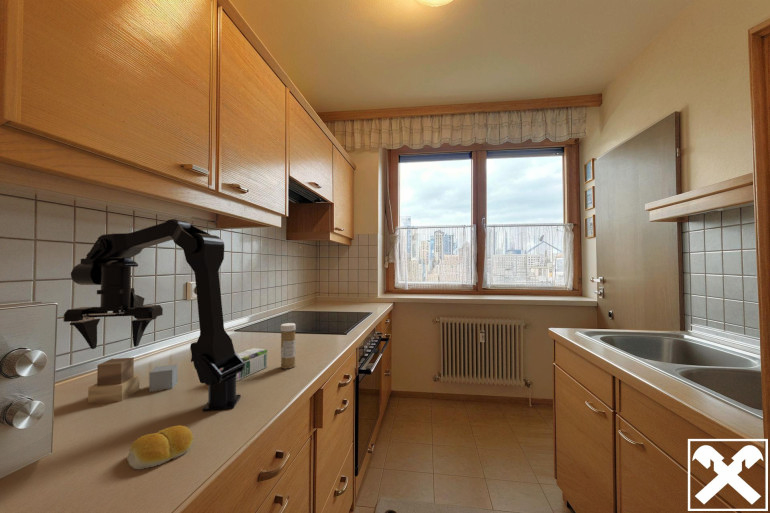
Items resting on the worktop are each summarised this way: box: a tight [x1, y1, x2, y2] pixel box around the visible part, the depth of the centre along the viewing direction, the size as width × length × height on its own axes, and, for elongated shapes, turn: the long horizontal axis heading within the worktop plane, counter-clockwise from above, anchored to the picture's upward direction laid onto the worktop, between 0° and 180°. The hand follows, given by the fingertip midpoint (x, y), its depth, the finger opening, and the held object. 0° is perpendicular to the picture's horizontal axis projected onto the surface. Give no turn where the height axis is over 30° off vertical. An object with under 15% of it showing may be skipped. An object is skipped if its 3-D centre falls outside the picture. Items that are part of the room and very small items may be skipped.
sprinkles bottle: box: [280, 322, 296, 369], centre depth 97 cm, size 5×5×13 cm
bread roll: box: [126, 425, 194, 470], centre depth 53 cm, size 8×9×4 cm
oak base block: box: [87, 374, 140, 405], centre depth 77 cm, size 7×7×4 cm
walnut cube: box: [96, 357, 135, 386], centre depth 77 cm, size 5×5×5 cm
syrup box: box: [219, 347, 268, 382], centre depth 91 cm, size 6×6×14 cm
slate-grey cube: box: [148, 363, 178, 393], centre depth 82 cm, size 5×5×5 cm
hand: (115, 347), depth 77 cm, fingers open, 9 cm apart
